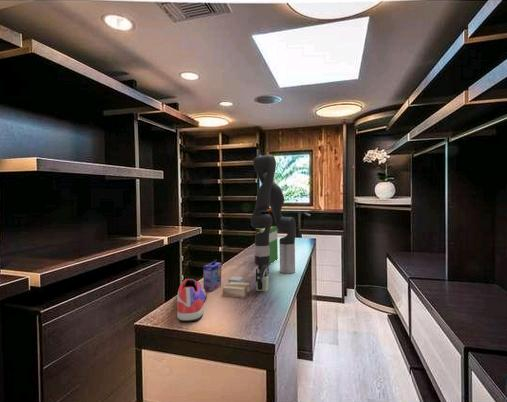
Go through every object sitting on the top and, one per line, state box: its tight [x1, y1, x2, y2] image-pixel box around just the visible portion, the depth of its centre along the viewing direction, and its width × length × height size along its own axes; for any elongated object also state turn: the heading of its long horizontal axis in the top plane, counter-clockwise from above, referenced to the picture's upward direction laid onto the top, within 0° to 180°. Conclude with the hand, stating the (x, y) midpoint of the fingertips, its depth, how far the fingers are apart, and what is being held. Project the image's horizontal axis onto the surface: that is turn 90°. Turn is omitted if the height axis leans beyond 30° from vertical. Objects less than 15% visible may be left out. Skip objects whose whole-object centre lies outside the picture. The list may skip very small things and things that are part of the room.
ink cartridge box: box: [202, 259, 222, 292], centre depth 147 cm, size 10×6×14 cm, turn 158°
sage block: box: [255, 275, 270, 292], centre depth 143 cm, size 5×5×6 cm
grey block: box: [227, 275, 245, 284], centre depth 150 cm, size 6×6×4 cm
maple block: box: [222, 282, 251, 298], centre depth 139 cm, size 10×10×4 cm
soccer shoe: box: [176, 278, 208, 322], centre depth 124 cm, size 12×36×13 cm, turn 9°
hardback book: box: [258, 225, 279, 266], centre depth 201 cm, size 18×7×24 cm, turn 157°
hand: (262, 286), depth 143 cm, fingers open, 8 cm apart
